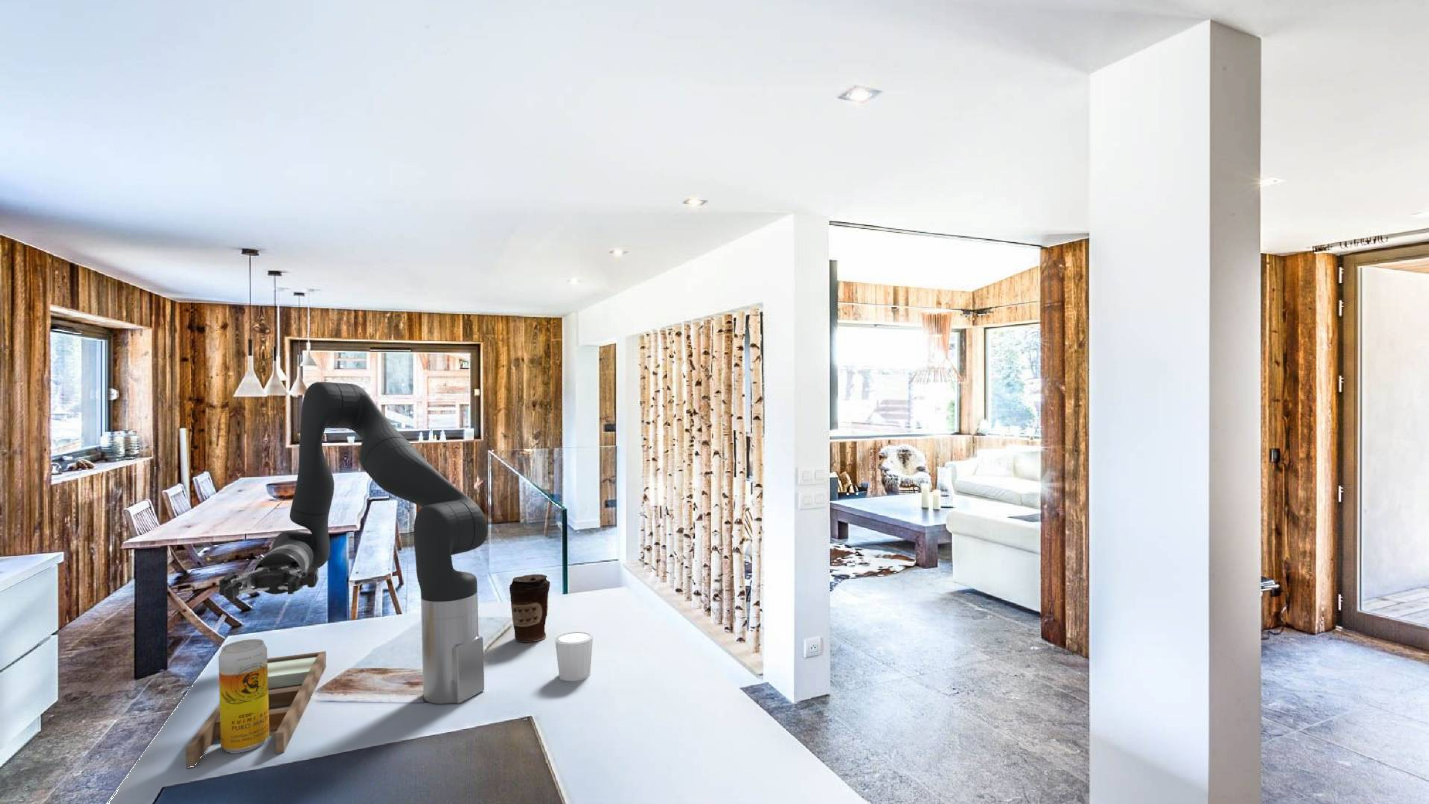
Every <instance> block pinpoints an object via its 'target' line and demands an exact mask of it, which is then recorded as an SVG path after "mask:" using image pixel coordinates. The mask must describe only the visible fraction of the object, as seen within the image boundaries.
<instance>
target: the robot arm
mask: <svg viewBox="0 0 1429 804" xmlns="http://www.w3.org/2000/svg"><path fill="white" fill-rule="evenodd" d="M299 425H300V428H299V429H300V430H299V442H298V443H299V448H298V449H299V450H298V470H297V478H296V483H295V489H294V493H293V497H292V501H291V507H290V511H289V519H290V521H291V522H292V523H294V524H296V525H297V526H300V527H303V528H305V529H307V530H308V531H309V532H310V533H309V532H303V531H297V530H286V531H285V530H284V531H281V532H279V534H278V535H277V536H276V537H275V538H274V541H273V543H272V547H271V550H270V551H269V552H268V553H267V554H266V555H265V556H263V557H262V558H260V560H259V561H258V563H257V564H256V566H255V567H254V569H253V570H252V571H248V572H244V573H242V574H241V575H239V572H237V571H232V572H229V573H228V574H227V575H225V576H224V577H221V578H220V579H219V580H218V585H219V587H218V589H219V591H218V592H219V593H218V594H219V596H224V598H227V600H228V601H231V600H232V601H233V600H235V599H236V598H237V597H238V596H239V595H240V594H248V595H250V594H253V593H256V592H260V591H262V592H264V593H267V594H270V595H281V594H286V593H287V595H294V594H295V592H298V591H299V590H302V589H303V588H304V587H305V586H307V588H310V589H312V588H315V587H316V586H317V584H318V582H319V569H320V568H322V567H323V566H324V565H325V564H326V563H327V561H328V559H329V558H330V554H331V543H330V542H331V540H330V534H329V533H330V532H329V516H330V511H331V510H330V509H331V507H332V503H333V502H332V501H333V498H334V492H335V480H334V476H333V473H332V471H331V467H330V465H329V463H328V461H327V459H326V456H325V453H324V448H323V438H324V435H325V430H326V429H346V430H347V429H348V430H351V431H353V432H355V433H356V434H357V436H359V437H360V439H361V440H362V441H361V445H360V449H359V462H360V465H361V466H362V468H363V470H364V471H365V473H367V475H368V476H369V477H370V478H371V479H372V481H374V483H375V484H376V485H377V486H378V487H379V488H380V489H382V490H383V491H384V492H386V493H388V494H390V495H392V496H394V497H397V498H399V499H402V500H404V501H407V502H408V503H412V504H415V505H417V506H418V507H419V506H420V507H421V508H420V509H419V510H418V511H417V513H416V514H415V515H416V516H415V519H414V521H413V522H414V523H413V545H414V555H415V570H416V578H417V582H418V585H419V589H420V605H421V608H420V610H421V611H420V613H421V649H422V654H421V656H422V658H421V659H422V687H423V688H422V690H423V691H422V692H423V693H422V694H424V697H423V699H424V701H426V702H427V703H432V704H437V705H438V704H441V705H442V704H460V703H462V702H465V701H466V700H469V699H470V698H472V697H474V696H476V695H478V694H479V693H481V692H483V691H485V672H484V671H485V666H484V664H485V663H484V661H485V660H484V638H483V636H482V635H479V610H478V608H479V604H478V602H479V600H478V598H479V597H478V579H477V577H476V575H475V574H473V573H472V572H466V571H461V570H457V569H454V566H453V559H452V556H453V555H454V556H455V555H458V554H463V553H467V552H470V551H473V550H475V549H478V548H479V547H481V546H482V545H484V543H485V542H486V540H487V539H488V533H489V525H488V521H487V519H486V516H485V514H484V512H483V511H482V509H481V508H480V506H479V505H478V504H477V503H476V502H475V500H473V499H472V498H471V497H469V496H468V495H467V494H466V493H464V492H463V491H462V490H461V489H459V488H458V487H456V486H455V485H454V484H452V482H451V481H449V480H447V478H445V477H444V476H443V475H442V474H441V473H440V472H439V471H438V470H437V469H436V468H435V467H434V466H433V465H432V464H431V463H430V462H429V461H427V459H425V457H424V456H423V455H422V454H421V453H420V452H419V451H418V450H417V448H415V446H413V445H412V443H411V442H410V441H409V440H408V439H407V438H406V437H404V436H403V435H402V434H401V433H400V432H399V431H398V430H397V429H396V428H395V426H394V425H393V424H392V423H391V422H390V421H389V420H388V419H387V418H386V417H385V416H384V414H383V413H382V411H381V410H380V409H379V407H378V405H376V402H375V401H374V400H373V398H371V396H370V395H369V394H368V392H367V391H366V390H365V389H364V388H362V387H361V386H359V385H357V384H354V383H347V382H329V381H316V382H313V383H311V384H310V385H309V386H308V387H307V389H306V390H305V392H304V395H303V399H302V404H301V411H300V424H299ZM240 584H241V588H240Z"/></svg>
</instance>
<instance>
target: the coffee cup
mask: <svg viewBox="0 0 1429 804" xmlns="http://www.w3.org/2000/svg"><path fill="white" fill-rule="evenodd" d="M547 578H548V576H547V575H545V574H538V573H537V574H536V573H535V574H525V575H522V576H516V577H513V578H512V581H511V584H510V585H509V594H510V595H509V596H510V606H511V619H512V623H513V624H512V626H513V630H514V639H515V641H516V642H520V643H521V642H522V643H531V642H537V641H540V640H544V639H545V638H547V634H546V630H545V628H546V620H547V617H548V615H549V614H548V609H549V607H548V606H549V593H550V587H551V582H550V581H549V580H548V579H547Z"/></svg>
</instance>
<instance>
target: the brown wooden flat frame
mask: <svg viewBox="0 0 1429 804" xmlns="http://www.w3.org/2000/svg"><path fill="white" fill-rule="evenodd" d="M326 653H327V651H326V650H325V651H317V652H310V653H309V652H308V653H301V654H300V653H299V654H294V655H283V656H277V657H270V658H268V657H267V665H268V702H269V732H271V731H274V730H276V732H275V754H276V755H278V754H284V753H285V751H286V749H287V747H288V746H289V743H290V741H291V740H292V737H293V735H294V733H295V731H296V729H297V727H298V725H299V723H300V720H301V719H302V717H303V715H304V712H305V711H306V709H307V706H308V704H309V703H310V701H311V698H312V697H311V696H313V695H314V693H313V692H315V690H316V689H317V687H318V684H319V682H320V680H321V678H322V676H323V674H324V672H325V671H326V669H327V654H326ZM312 694H313V695H312ZM217 738H218V739H221V728H220V703H219V704H218V706H216V708H215V709H214V711H213V712H212V713H211V714H210V716H209V717H208V718H207V720H205V722H204V723H203V725H202V726H201V727H200V728H199V730H198V731H197V732H196V733H195V735H193V737H192V739H191V740H190V741H189V742H188V743H187V745H186V746H185V762H186V763H185V766H186V767H190V766H195V764H196V763H197V762H198V760H199V759H200V757H201V756H202V755H203V754H204V752H205V751H206V750H207V751H208V749H209V748H210V747H211V746H212V744H213V743H214V741H215V740H216V739H217ZM214 739H215V740H214ZM213 740H214V741H213ZM211 743H212V744H211ZM209 746H210V747H209ZM208 747H209V748H208ZM207 748H208V749H207ZM207 751H206V752H207ZM206 752H205V753H206ZM204 755H205V754H204ZM204 755H203V756H204ZM203 756H202V757H203ZM200 760H201V759H200ZM198 763H199V762H198ZM198 763H197V764H198ZM195 767H196V766H195Z"/></svg>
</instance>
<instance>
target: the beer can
mask: <svg viewBox="0 0 1429 804" xmlns="http://www.w3.org/2000/svg"><path fill="white" fill-rule="evenodd" d="M267 659H268V647H267V646H266V645H265V641H264V640H263V639H261V638H260V639H258V638H252V639H244V640H238V641H234V642H231V643H228V644H225V645H224V646H223V647H221V650H220V653H219V655H218V686H219V687H218V689H219V690H218V691H219V704H220V728H221V738H220V747H221V748H223V749H224V750H225V751H226V752H227V753H229V752H230V754H239V753H240V752H241V753H246V752H249V751H253V750H255V749H257V748H260V747H261V746H262V745H264V743H265V742H266V741H267V739H268V738H269V736H270V731H269V702H268V665H267ZM245 751H246V752H245Z"/></svg>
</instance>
